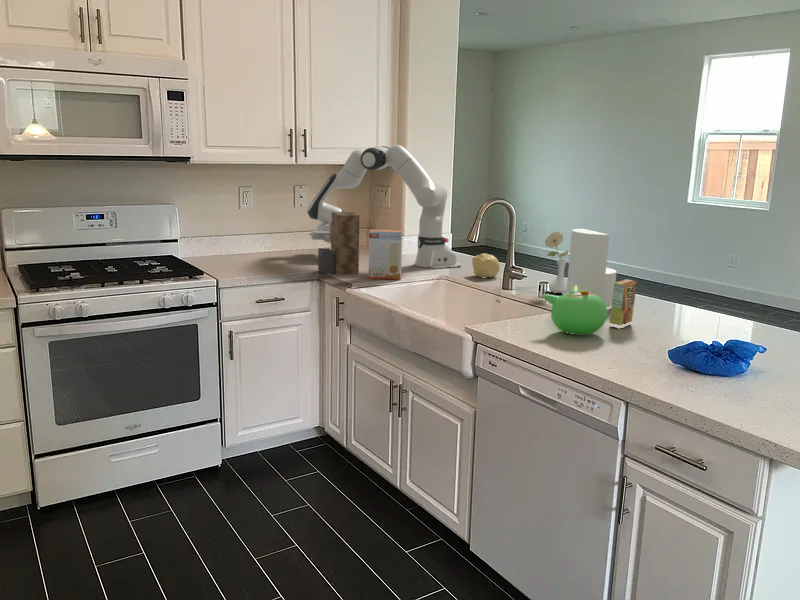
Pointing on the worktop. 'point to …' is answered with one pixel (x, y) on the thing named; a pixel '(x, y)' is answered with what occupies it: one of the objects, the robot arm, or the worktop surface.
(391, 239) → the cracker box
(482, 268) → the pale yellow lumpy ball
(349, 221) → the walnut stand
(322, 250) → the domino
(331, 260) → the domino
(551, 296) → the round teapot
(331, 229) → the bar
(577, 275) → the cylinder
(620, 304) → the candy box
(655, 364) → the worktop surface
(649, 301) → the worktop surface
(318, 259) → the domino
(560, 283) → the flower in vase
